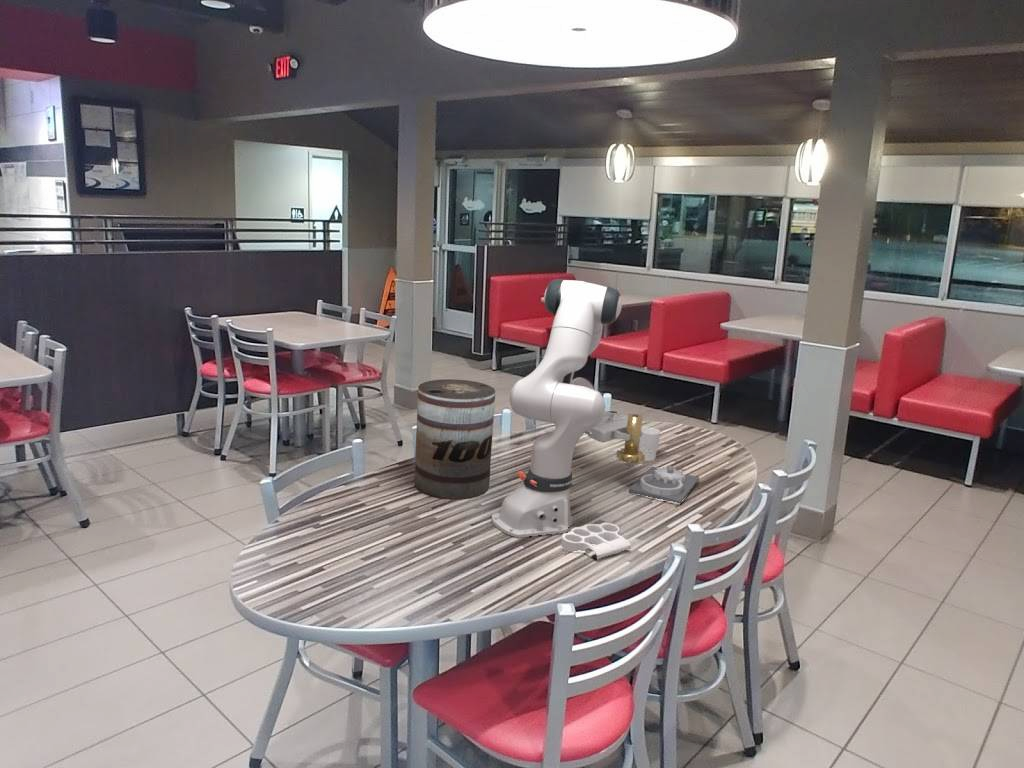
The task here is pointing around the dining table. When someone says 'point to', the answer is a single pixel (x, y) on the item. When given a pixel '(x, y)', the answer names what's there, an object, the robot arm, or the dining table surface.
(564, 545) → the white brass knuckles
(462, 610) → the dining table surface
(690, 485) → the board
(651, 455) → the white cup
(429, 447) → the barrel
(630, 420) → the gold metal upright post
